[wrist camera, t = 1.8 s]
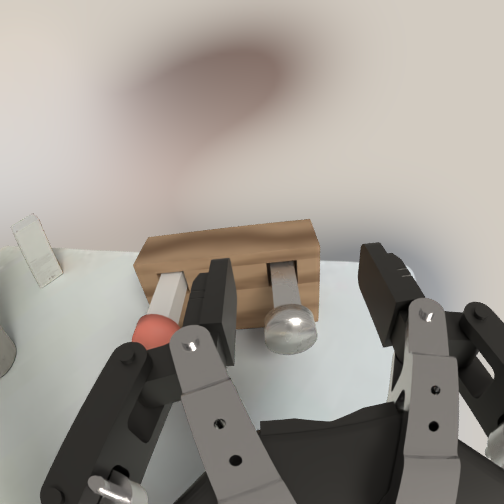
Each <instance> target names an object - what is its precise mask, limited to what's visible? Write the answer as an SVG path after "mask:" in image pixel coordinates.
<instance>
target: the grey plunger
mask: <svg viewBox="0 0 504 504" xmlns="http://www.w3.org/2000/svg"><path fill="white" fill-rule="evenodd" d="M270 268H271V279H272V291H273V302H274V309H272V310H271V311H270V312H269V313H268V314H267V315H266V317H265V319H264V334H265V344H266V346H267V347H268V348H269V349H270V350H271V351H273V352H275V353H278V354H283V355H293V354H298V353H301V352H304V351H306V350H307V349H309V348H310V347H312V346H313V345H314V343H315V342H316V340H317V331H316V326H315V321H314V317H313V314H312V312H311V311H310V310H309V309H308V308H307V307H305V306H302V305H301V300H300V295H299V290H298V284H297V279H296V274H295V269H294V264H293V260H292V261H282V262H272V263H270Z"/></svg>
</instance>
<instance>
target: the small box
mask: <svg viewBox="0 0 504 504" xmlns="http://www.w3.org/2000/svg"><path fill="white" fill-rule="evenodd" d="M11 229H12V232H13V234H14V236H15V238H16V241H17V243H18V245H19V247H20V249H21V252H22V254H23V256H24V258H25V260H26V262H27V264H28V266H29V268H30V270H31V272H32V274H33V276H34V278H35V279H36V281H37V283H38V284H39V286H40V288H43V287H44V286H46V285H47V284H49V283H50V282H51V281H53V280H54V279H56V278H57V277H59V276H60V275H61V274H63V271H62V269H61V267H60V265H59V263H58V261H57V259H56V257H55V255H54V253H53V251H52V248H51V246H50V244H49V242H48V240H47V237H46V235H45V233H44V230H43V228H42V225H41V223H40V220H39V219H38V218H37V217H36V216H35V215H34V214H31V215H29V216H27V217H26V218H24V219H22V220H21V221H19V222H18V223H16V224H14V225H13V226H11Z"/></svg>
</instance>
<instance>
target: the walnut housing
mask: <svg viewBox="0 0 504 504" xmlns="http://www.w3.org/2000/svg"><path fill="white" fill-rule="evenodd" d="M222 258H230V260H231V265H232V270H233V275H234V280H235V285H236V291H237V316H236V329H248V328H260V327H264V319H265V317H266V315H267V314H268V313H269V312H270V311H271V310H272V309H274V302H273V291H272V279H271V268H270V263H272V262H282V261H292V260H293V264H294V269H295V274H296V279H297V284H298V290H299V295H300V300H301V305H302V306H305V307H307V308H308V309H309V310H310V311H311V312H312V314H313V317H314V321H315V322H317V321H318V313H319V282H320V245H319V242H318V239H317V237H316V234H315V231H314V229H313V226H312V223H311V221H310V219H306V220H296V221H285V222H276V223H266V224H256V225H248V226H238V227H229V228H220V229H212V230H203V231H195V232H187V233H179V234H171V235H164V236H156V237H148V239H147V241H146V242H145V244H144V246H143V248H142V250H141V251H140V253H139V255H138V257H137V259H136V261H135V263H134V264H133V266H134V269H135V271H136V274H137V276H138V279H139V281H140V283H141V286H142V288H143V291H144V293H145V295H146V298H147V300H148V302H149V304H150V303H151V300H152V298H153V295H154V292H155V290H156V287H157V284H158V282H159V279H160V276H161V274H162V273H169V272H180V271H184V274H185V278H186V281H187V284H188V287H187V291H186V295H185V299H184V303H183V307H182V311H181V315H180V319H179V323H178V325H179V327H180V328H182V325H183V321H184V317H185V312H186V308H187V304H188V300H189V295H190V293H191V287H192V283H193V281H194V279H195V278H196V277H197V276H198V275H199V273H206V272H209V267H210V262H211V260H212V259H222Z"/></svg>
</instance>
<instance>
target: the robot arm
mask: <svg viewBox="0 0 504 504" xmlns="http://www.w3.org/2000/svg"><path fill="white" fill-rule="evenodd" d="M358 283H359V288H360V290H361V293H362V295H363V298H364V300H365V302H366V305H367V307H368V310H369V312H370V315H371V317H372V320H373V322H374V325H375V327H376V330H377V332H378V335H379V338H380V340H381V343H382V346H383V347H388V346H393V348H394V354H393V357H392V365H391V375H390V383H389V391H388V397H387V402H386V403H383V404H379V405H374V406H370V407H365V408H362V409H360V410H358V411H355V412H353V413H351V414H349V415H346V416H344V417H342V418H339V419H337V420H334V421H330V422H327V421H314V420H304V419H295V418H294V419H284V420H272V421H260V430H257V431H256V430H255V428H254V426H253V424H252V422H251V420H250V418H249V416H248V414H247V412H246V410H245V408H244V405H243V403H242V401H241V399H240V397H239V395H238V393H237V391H236V389H235V386H234V384H233V382H232V380H231V378H229V376H228V374H227V372H226V366H234V358H235V336H236V316H237V291H236V285H235V280H234V275H233V270H232V265H231V260H230V258H222V259H212V260H211V262H210V267H209V272H206V273H199V275H198V276H197V277H196V278H195V279H194V281H193V283H192V287H191V293H190V295H189V300H188V304H187V308H186V312H185V317H184V321H183V325H182V328H181V329H179V330H177V331H176V332H175V333H174V334H173V335H172V337H171V339H170V342H169V343H167V344H165V345H163V346H159V347H156V348H152V349H149V350H146V348H145V347H144V346H143V345H142V344H140V343H138V342H128V343H125V344H122V345H121V346H119V347H118V348H116V349H115V350H114V352H113V353H112V355H111V356H110V358H109V360H108V361H107V363H106V365H105V367H104V368H103V370H102V372H101V373H100V375H99V377H98V379H97V380H96V382H95V384H94V386H93V387H92V389H91V391H90V393H89V395H88V396H87V398H86V400H85V402H84V404H83V405H82V407H81V409H80V411H79V413H78V415H77V417H76V418H75V420H74V422H73V424H72V426H71V428H70V430H69V432H68V434H67V436H66V438H65V440H64V442H63V444H62V446H61V448H60V450H59V452H58V454H57V456H56V458H55V460H54V462H53V464H52V466H51V468H50V470H49V473H48V475H47V477H46V479H45V481H44V484H43V486H42V488H41V492H40V499H41V503H42V504H148V496H147V493H146V491H145V489H144V488H143V487H142V486H141V485H140V484H141V481H142V479H143V476H144V474H145V471H146V469H147V466H148V463H149V461H150V458H151V456H152V453H153V451H154V448H155V446H156V443H157V441H158V438H159V436H160V433H161V431H162V428H163V426H164V423H165V421H166V418H167V416H168V413H169V411H170V408H171V406H172V403H173V402H177V401H181V400H182V403H183V407H184V410H185V413H186V416H187V419H188V422H189V425H190V428H191V431H192V434H193V437H194V440H195V443H196V445H197V448H198V451H199V454H200V456H201V459H202V462H203V464H204V467H205V470H206V471H205V472H204V473H203V474H202V475H201V476H200V477H199V478H198V479H197V480H196V481H195V482H194V484H193V485H192V486H191V487H190V488H189V489H188V490H187V491H186V492H185V493H184V494H183V495H182V496H181V497H179V498H178V499H177V500H176V501H175V502H174V503H173V504H504V323H503V322H502V321H501V320H500V318H498V316H497V315H496V314H495V313H494V312H493V311H492V310H491V309H490V308H489V307H488V306H487V305H485V304H483V303H480V302H471V303H469V304H467V305H466V307H465V309H464V311H463V313H460V312H447V311H444V309H443V307H442V306H441V305H440V304H439V303H438V302H436V301H434V300H432V299H429V298H425V296H424V294H423V293H422V291H421V289H420V288H419V286H418V285H417V283H416V281H415V280H414V278H413V277H412V276H411V274H410V272H409V271H408V269H407V267H406V266H405V264H404V263H403V261H402V260H401V259H400V258H398V257H397V256H396V255H394V254H393V253H387V252H386V251H385V249H384V248H383V246H382V245H381V243H379V242H378V243H368V244H362V246H361V250H360V261H359V270H358ZM478 352H480V353H481V354H482V355H483V357H484V358H485V359H486V361H487V362H488V363H489V365H490V366H491V367H492V369H493V371H494V374H495V375H494V379H493V378H492V377H491V375H490V374H489V373H488V371H487V370H486V369H485V367H484V366H483V365H482V363H481V362H480V361H479V359H478V358H477V357H476V355H477V354H478ZM15 356H16V346H15V344H14V343H13V342H12V340H11V339H10V338H9V336H8V335H7V334H6V332H5V331H4V330H3V328H2V327H1V325H0V378H1V377H2V376H3V375H4V374H5V373H6V372H7V371H8V370H9V368H10V367H11V365H12V364H13V362H14V359H15ZM459 393H460V394H461V396H462V397H463V399H464V400H465V402H466V403H467V405H468V406H469V408H470V409H471V411H472V412H473V414H474V416H475V417H476V419H477V420H478V422H479V424H480V425H481V427H482V429H483V430H484V432H485V434H486V435H487V437H488V443H487V447H486V449H485V455H486V457H488V458H491V460H489V459H488V458H486V457H485V456H483V455H481V454H480V453H478V452H477V451H475V450H474V449H472V448H471V447H469V446H468V445H466V444H465V443H463V442H462V441H460V440H459V439H458V426H459Z"/></svg>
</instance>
